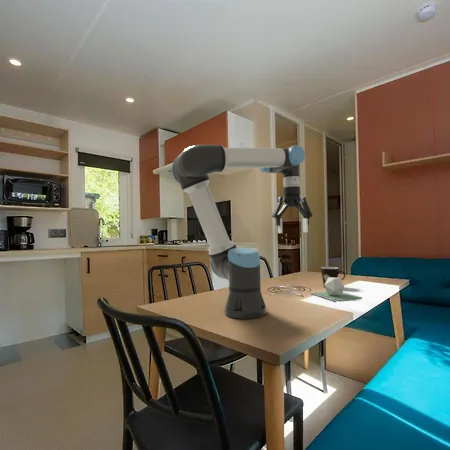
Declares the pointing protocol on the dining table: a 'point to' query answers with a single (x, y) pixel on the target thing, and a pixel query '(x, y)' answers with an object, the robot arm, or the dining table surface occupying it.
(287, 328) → the dining table surface
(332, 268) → the coffee mug
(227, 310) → the robot arm
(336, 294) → the die
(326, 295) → the mat
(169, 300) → the dining table surface
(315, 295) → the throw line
